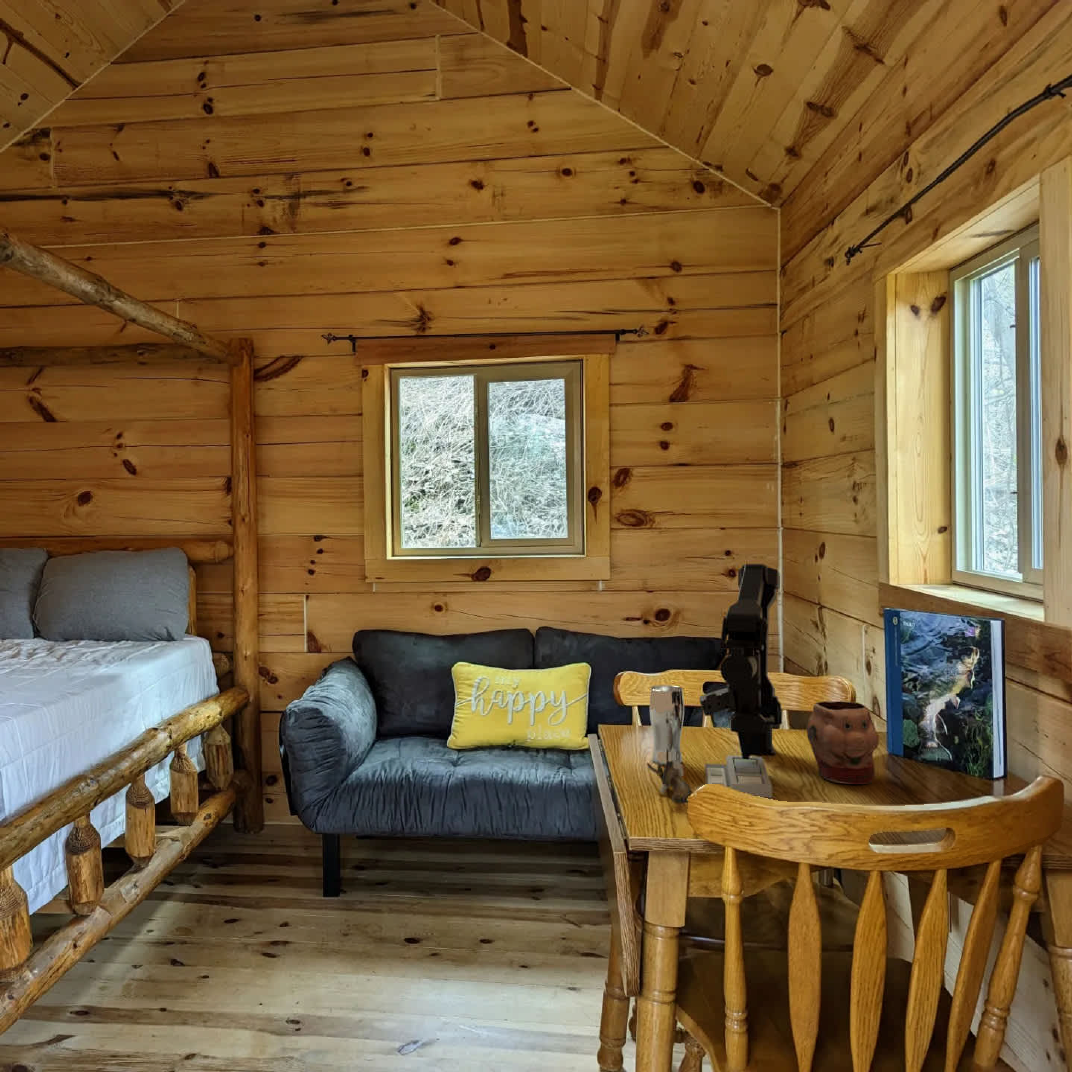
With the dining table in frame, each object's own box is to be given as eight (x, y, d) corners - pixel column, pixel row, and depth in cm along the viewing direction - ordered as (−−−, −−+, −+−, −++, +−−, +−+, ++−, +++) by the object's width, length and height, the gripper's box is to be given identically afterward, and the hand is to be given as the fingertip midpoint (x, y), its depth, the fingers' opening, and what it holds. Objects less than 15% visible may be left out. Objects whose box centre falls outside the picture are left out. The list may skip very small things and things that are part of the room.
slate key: (735, 769, 144) (735, 761, 144) (757, 770, 143) (757, 762, 143) (737, 776, 140) (737, 767, 140) (760, 777, 139) (759, 768, 139)
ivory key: (737, 785, 139) (737, 776, 139) (760, 786, 138) (760, 777, 138) (739, 792, 135) (739, 783, 135) (762, 793, 134) (762, 784, 134)
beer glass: (668, 768, 153) (668, 692, 153) (642, 760, 158) (642, 687, 158) (691, 761, 157) (690, 688, 157) (665, 754, 163) (664, 683, 163)
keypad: (705, 768, 153) (704, 753, 153) (762, 771, 150) (762, 756, 150) (707, 801, 134) (707, 783, 134) (773, 804, 132) (772, 787, 132)
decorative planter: (789, 761, 157) (789, 693, 157) (848, 759, 158) (847, 692, 158) (833, 793, 137) (832, 715, 137) (899, 791, 138) (898, 714, 138)
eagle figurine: (636, 783, 141) (654, 789, 132) (654, 748, 142) (672, 751, 134) (671, 804, 141) (691, 811, 133) (688, 768, 143) (709, 773, 134)
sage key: (734, 767, 150) (734, 758, 150) (755, 768, 149) (755, 759, 149) (735, 773, 146) (735, 764, 146) (757, 774, 145) (757, 765, 145)
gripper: (700, 667, 158) (701, 744, 158) (702, 685, 140) (703, 771, 140) (757, 669, 156) (757, 746, 156) (766, 686, 137) (767, 774, 137)
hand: (745, 758), depth 147 cm, fingers closed
